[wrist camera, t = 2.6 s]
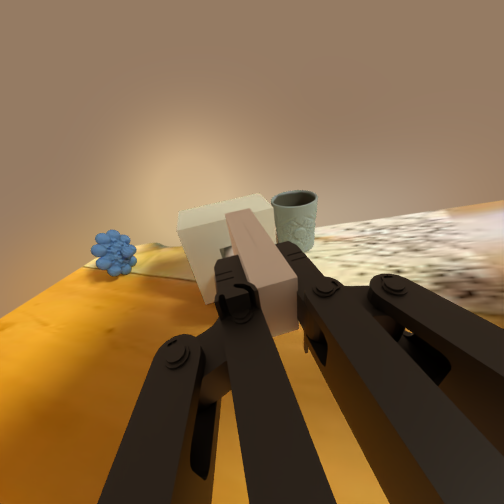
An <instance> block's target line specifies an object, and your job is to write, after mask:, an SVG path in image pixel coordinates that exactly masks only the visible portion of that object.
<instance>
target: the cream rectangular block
mask: <svg viewBox="0 0 504 504" xmlns="http://www.w3.org/2000/svg"><path fill="white" fill-rule="evenodd" d="M247 208H250V209H251V211H252V212H253V213H254V215H255V216H256V218H257V219H258V221H259V222H260V224H261V225H262V226H263V228H264V229H265V231H266V232H267V234H268V235H269V237H270V238H271V239H272V241H273V242H274V244H277V242H276V232H275V221H274V210H273V207H272V206H271V205H270V204H269V203H268V202H267V201H266V200H265V199H264V197H263V196H262V195H261V194H259V193H258V194H253V195H249V196H245V197H240V198H236V199H231V200H227V201H223V202H218V203H214V204H209V205H205V206H200V207H196V208H192V209H187V210H183V211H179V216H178V223H177V233H178V236H179V238H180V241H181V243H182V246H183V249H184V251H185V254H186V256H187V259H188V261H189V264H190V266H191V269H192V272H193V274H194V277H195V279H196V282H197V284H198V287H199V289H200V292H201V294H202V297H203V299H204V302H205V305H206V304H210V303H213V302H214V300H215V295H216V287H215V281H214V276H215V272H214V266H215V264H216V261H217V260H218V259H222V258H226V257H225V253H224V248H225V247H228V246H232V244H231V240H230V235H229V231H228V227H227V222H226V218H225V214H226V213H230V212H234V211H239V210H243V209H247Z"/></svg>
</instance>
